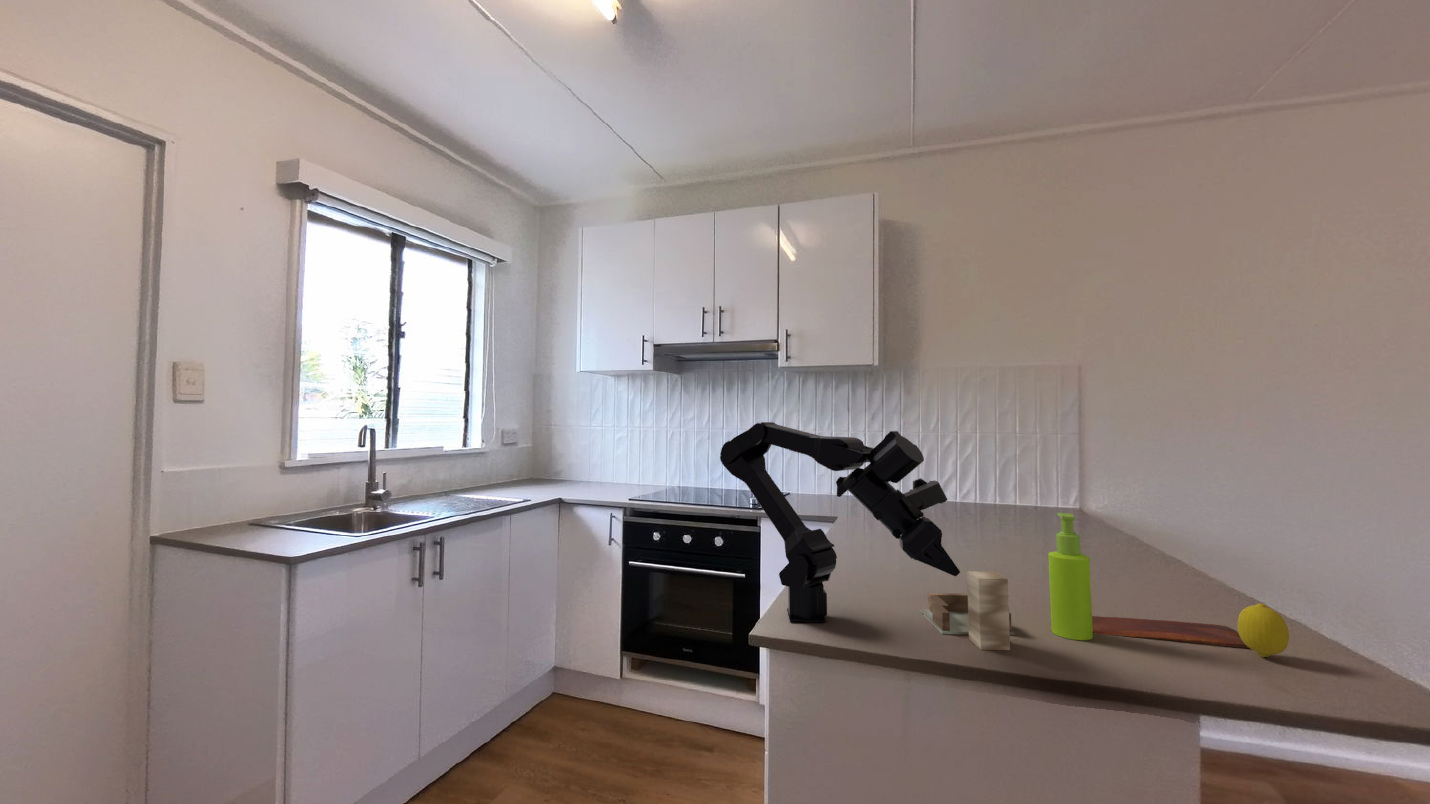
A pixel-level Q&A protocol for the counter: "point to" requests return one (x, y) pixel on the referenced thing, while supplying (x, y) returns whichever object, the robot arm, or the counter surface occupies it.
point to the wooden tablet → (1168, 631)
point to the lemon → (1263, 630)
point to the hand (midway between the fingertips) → (951, 566)
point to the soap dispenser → (1070, 585)
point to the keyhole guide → (950, 613)
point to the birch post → (988, 610)
